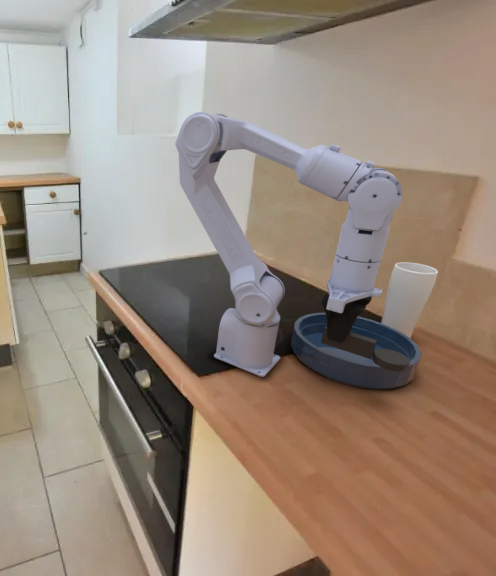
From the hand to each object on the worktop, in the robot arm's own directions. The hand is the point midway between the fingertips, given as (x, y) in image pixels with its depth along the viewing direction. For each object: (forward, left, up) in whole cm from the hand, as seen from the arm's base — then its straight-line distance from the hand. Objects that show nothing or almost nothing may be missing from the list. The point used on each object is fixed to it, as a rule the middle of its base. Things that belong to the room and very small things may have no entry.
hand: (336, 337), depth 60 cm
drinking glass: (+6, +26, -9) cm, 28 cm away
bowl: (+1, +11, -8) cm, 14 cm away
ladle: (+4, 0, -1) cm, 4 cm away
